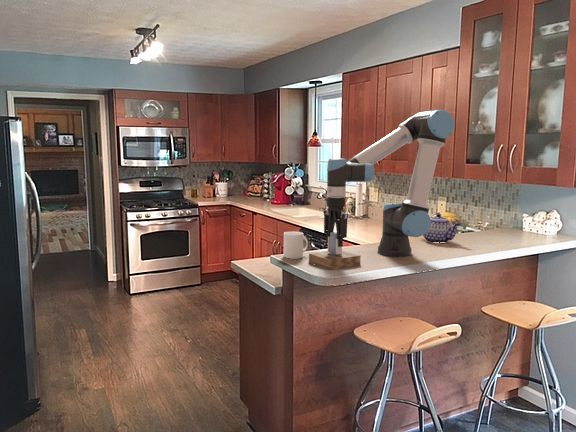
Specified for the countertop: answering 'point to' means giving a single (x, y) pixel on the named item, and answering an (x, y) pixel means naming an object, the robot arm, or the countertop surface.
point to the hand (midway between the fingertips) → (334, 252)
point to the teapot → (440, 229)
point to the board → (334, 260)
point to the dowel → (333, 244)
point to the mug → (294, 245)
